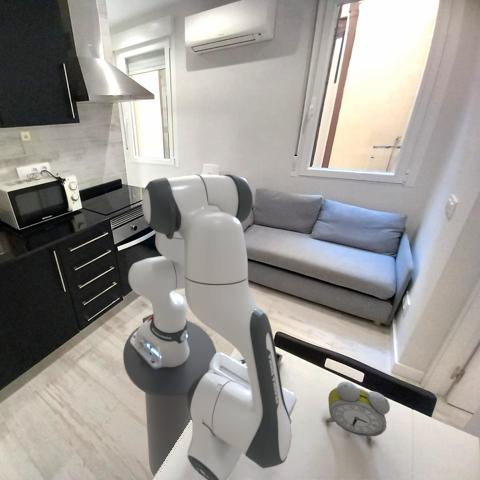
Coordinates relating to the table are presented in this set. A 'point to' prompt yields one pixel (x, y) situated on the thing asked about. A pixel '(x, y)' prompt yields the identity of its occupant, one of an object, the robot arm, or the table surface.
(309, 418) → the table surface
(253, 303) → the robot arm
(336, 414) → the alarm clock
